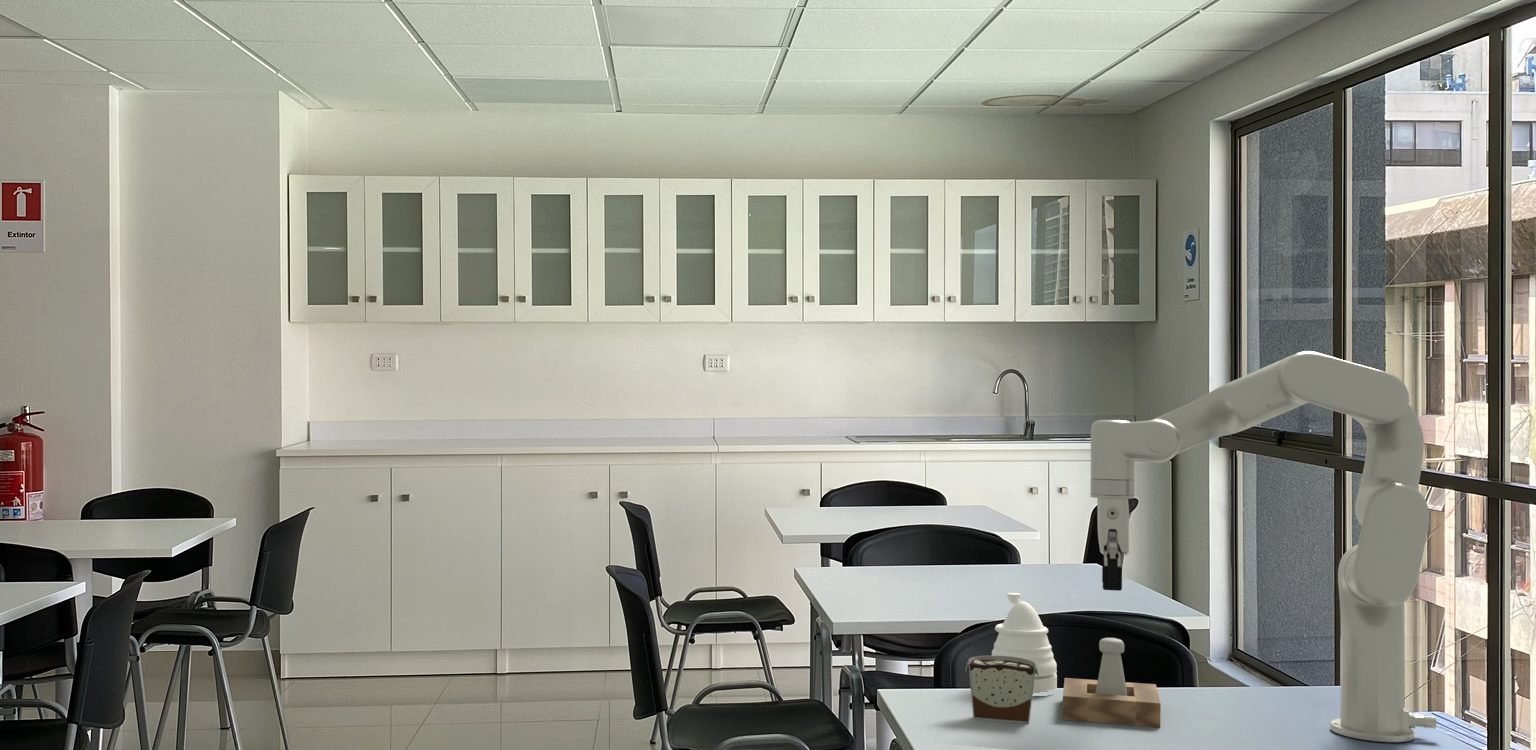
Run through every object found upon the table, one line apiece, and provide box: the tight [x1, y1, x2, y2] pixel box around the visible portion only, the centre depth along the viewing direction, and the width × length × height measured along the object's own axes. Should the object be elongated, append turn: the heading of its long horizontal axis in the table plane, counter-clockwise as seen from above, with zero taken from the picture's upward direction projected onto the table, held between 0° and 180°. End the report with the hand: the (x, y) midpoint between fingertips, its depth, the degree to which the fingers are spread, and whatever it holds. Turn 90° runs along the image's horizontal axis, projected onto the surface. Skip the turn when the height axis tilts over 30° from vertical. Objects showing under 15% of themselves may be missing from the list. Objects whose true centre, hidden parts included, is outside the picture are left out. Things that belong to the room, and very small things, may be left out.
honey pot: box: [991, 592, 1058, 693], centre depth 233 cm, size 13×13×18 cm
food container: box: [965, 655, 1039, 724], centre depth 211 cm, size 12×6×10 cm, turn 74°
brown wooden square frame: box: [1062, 677, 1162, 728], centre depth 215 cm, size 16×16×4 cm
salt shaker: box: [1095, 637, 1128, 696], centre depth 215 cm, size 6×6×13 cm
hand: (1111, 586), depth 216 cm, fingers open, 9 cm apart
